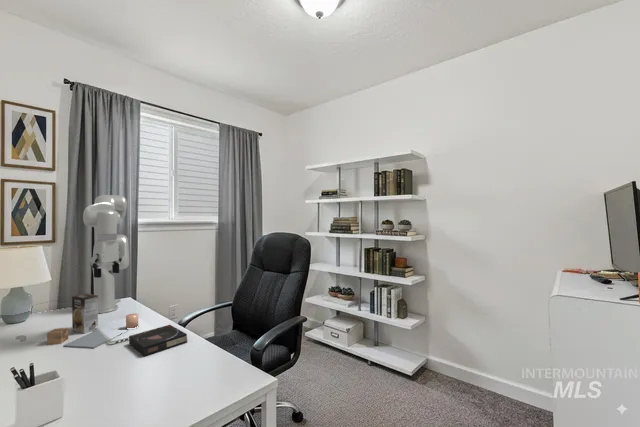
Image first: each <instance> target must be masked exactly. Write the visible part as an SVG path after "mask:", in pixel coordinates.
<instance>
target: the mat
mask: <svg viewBox="0 0 640 427" xmlns="http://www.w3.org/2000/svg"><path fill="white" fill-rule="evenodd" d="M97 330H98V329H96V330H93V331H91V332H88V334H87V333H86V334H85V335H83V336H81V337H79V338H75V340H72V341H69V342H68V343H66V344H63V348H76V349H77V348H78V349H79V348H80V349H96V348H98V347H101V345H104V344H105V343H107V340H106V339H105V338H104V337H103V335H102V334H101V333H100V332H98V331H97Z"/></svg>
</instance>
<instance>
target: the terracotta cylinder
mask: <svg viewBox="0 0 640 427" xmlns="http://www.w3.org/2000/svg"><path fill="white" fill-rule="evenodd" d="M137 326H138V327H139V313H130V314H129V313H128V314H127V315H126V316H125V329H126V328H135V327H137Z"/></svg>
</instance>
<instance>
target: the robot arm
mask: <svg viewBox="0 0 640 427" xmlns="http://www.w3.org/2000/svg"><path fill="white" fill-rule="evenodd" d="M127 209H128V202H127V198H126V197H125V196H123V195H119V194H117V195H115V194H100V195H98V196H96V197H95V199H94V204H90V205H88V206H86V207H85V208H84V211H83V213H82V214H83V215H82V220H83V223H84V225H85V226H86V227H92V228H93V229H94V233H93V234H94V245H93V252H92V257H90V258H89V259H88V263H89V264H90V267H91V268H92V273H93V295H98V314H105V313H106V314H107V313H110V312H114V311H117V309H118V308H119V305H117V304H118V303H121V298H117V299H116V298H115V296H116V294H115V291H116V290H115V286H116V284H115V277H114V275H113V274H119V273H120V270H125V269H127V268H128V267H129V265H130V254H129V239H128V237H127V236H126V235H124V234H118V233H117V229H118V228H117V226H119V224H120V223H121V219H123V218H125V217H126V214H127ZM110 271H112V272H110Z"/></svg>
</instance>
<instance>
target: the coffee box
mask: <svg viewBox="0 0 640 427" xmlns="http://www.w3.org/2000/svg"><path fill="white" fill-rule="evenodd" d="M71 312H72V314H71V316H72V319H71V320H72V324H71V325H72V327H71V328H72V330H71V331H73V332H77V333H81V334H87V333H91V332H94V331H96V330H95V327H96V326H98V327H99V313H98V295H94V294H92V293H84V294H83V293H81V294H77V295H73V296H71Z"/></svg>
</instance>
